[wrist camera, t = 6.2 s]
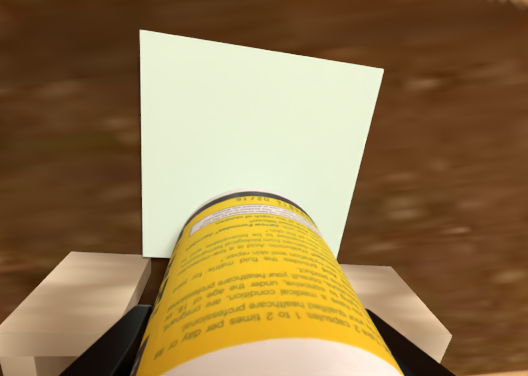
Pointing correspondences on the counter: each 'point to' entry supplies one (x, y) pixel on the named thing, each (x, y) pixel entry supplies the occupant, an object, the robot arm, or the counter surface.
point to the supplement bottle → (258, 299)
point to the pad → (247, 131)
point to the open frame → (128, 295)
